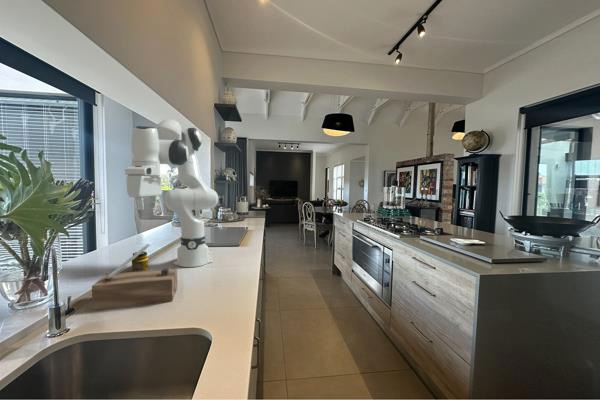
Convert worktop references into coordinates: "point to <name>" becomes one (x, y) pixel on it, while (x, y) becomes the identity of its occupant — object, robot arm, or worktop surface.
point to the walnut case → (135, 288)
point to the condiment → (140, 262)
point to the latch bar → (126, 262)
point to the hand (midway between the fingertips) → (147, 208)
